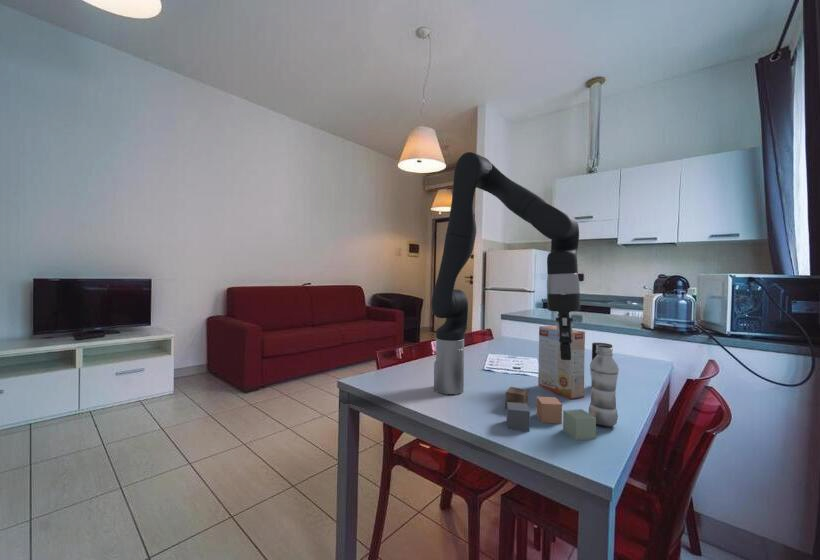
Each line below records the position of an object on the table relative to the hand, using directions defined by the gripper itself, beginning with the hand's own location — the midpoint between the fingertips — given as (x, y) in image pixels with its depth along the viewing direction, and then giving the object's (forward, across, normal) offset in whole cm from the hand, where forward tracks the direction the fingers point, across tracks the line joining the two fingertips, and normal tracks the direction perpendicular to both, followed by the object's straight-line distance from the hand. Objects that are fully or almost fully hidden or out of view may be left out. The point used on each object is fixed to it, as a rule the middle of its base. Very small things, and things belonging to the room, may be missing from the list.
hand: (565, 356), depth 83 cm
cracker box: (+18, -28, -2) cm, 33 cm away
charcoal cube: (+17, +5, -12) cm, 21 cm away
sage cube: (+18, +3, +2) cm, 18 cm away
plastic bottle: (+18, -6, +8) cm, 21 cm away
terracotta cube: (+18, -3, -4) cm, 18 cm away
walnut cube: (+17, -7, -13) cm, 23 cm away
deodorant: (+18, -37, +12) cm, 43 cm away
